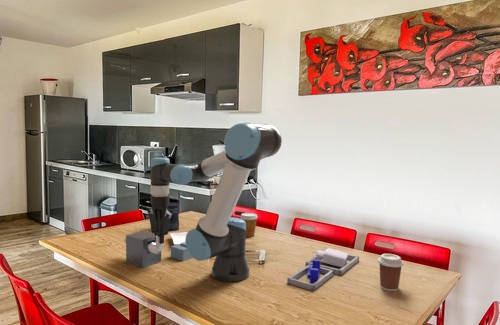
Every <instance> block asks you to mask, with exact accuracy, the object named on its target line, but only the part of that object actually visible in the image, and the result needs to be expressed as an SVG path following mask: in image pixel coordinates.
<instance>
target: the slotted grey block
mask: <svg viewBox="0 0 500 325" xmlns="http://www.w3.org/2000/svg"><path fill="white" fill-rule="evenodd" d="M125 238H126V244H125V260H126V262H125V263H127V264H130V265H133V266H136V267H139V268H141V269H143V268H146V267H150V266H153V265H156V264H159V263H161V262H162V251H161V252H160V253H159V254H155V253H152V252H148V242H152V243H156V242H155V234H154V233H152V232H151V231H148V230H141V231H137V232H134V233H129V234H126V235H125Z"/></svg>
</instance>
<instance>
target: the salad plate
mask: <svg viewBox="0 0 500 325" xmlns="http://www.w3.org/2000/svg"><path fill="white" fill-rule="evenodd" d="M188 232H189V231H185V232H182V231H181V232H170V233H169V236H170V237H171V239H172V243H173V246H174V245H178V246H180V243H183V242H185V239H186V235H187V233H188Z"/></svg>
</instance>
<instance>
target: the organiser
mask: <svg viewBox="0 0 500 325" xmlns="http://www.w3.org/2000/svg"><path fill="white" fill-rule="evenodd" d="M323 251H324V252H325V250H323ZM313 259H316V260H320V261H321V259H322V258H321V257H318V256H316V255H315V256H314V257H311V258H310V259H309V260H307V261H306V262H305V266H304V267H303V268H302V269H300V270H298V271H297V272H295V273H293V274H292V275H290V276H289V277H286V278H287V279H286V280H287V282H286V283H287V284H289V285H291V286H292V285H293V286H296V287H299V288H301V289H302V288H303V289H306V290H309V291H313V292H314V291H315V290H316V289H318V288H319V287H321V286H322V285H324V283H325V282H327V281H328V280H330V279H331V278H333V277H334V275H337V276H342V275H343V274H345V273H346V272H347V271H348V270H350V269H351V268H352V267H354V266H355V265H356V264H357V263H359V262H360V256H358V255H353V254H349V253H348V257H347V260H350V261H349V262H347V263H346V265H345V266H344V267H342V268H341V267H340V269H339V268H335V267H330V266H327V265H322V264H320V274H323V276H321V277H319V280H317V281H316V282H315V283H313V284H311V283H310V282H307V281H303V280H300V278H301V277H303V276H304V275H305V274H308V268H309V266H312V264H313Z"/></svg>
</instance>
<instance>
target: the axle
mask: <svg viewBox="0 0 500 325" xmlns="http://www.w3.org/2000/svg"><path fill="white" fill-rule="evenodd" d="M124 245H126V237H125V238H124ZM148 252H152V253H155V254H159V253H160V252H161V253H162V251H159V252H157V251H156V243H152V242H148Z"/></svg>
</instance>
